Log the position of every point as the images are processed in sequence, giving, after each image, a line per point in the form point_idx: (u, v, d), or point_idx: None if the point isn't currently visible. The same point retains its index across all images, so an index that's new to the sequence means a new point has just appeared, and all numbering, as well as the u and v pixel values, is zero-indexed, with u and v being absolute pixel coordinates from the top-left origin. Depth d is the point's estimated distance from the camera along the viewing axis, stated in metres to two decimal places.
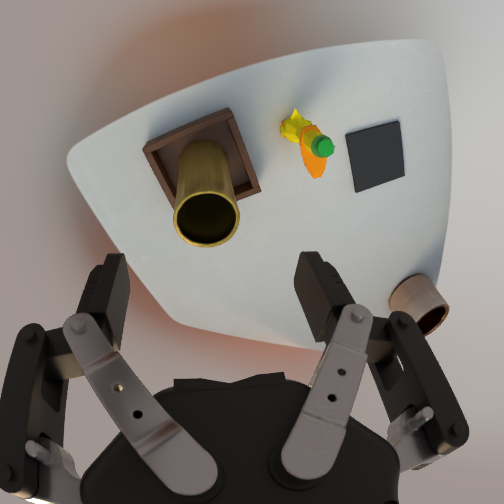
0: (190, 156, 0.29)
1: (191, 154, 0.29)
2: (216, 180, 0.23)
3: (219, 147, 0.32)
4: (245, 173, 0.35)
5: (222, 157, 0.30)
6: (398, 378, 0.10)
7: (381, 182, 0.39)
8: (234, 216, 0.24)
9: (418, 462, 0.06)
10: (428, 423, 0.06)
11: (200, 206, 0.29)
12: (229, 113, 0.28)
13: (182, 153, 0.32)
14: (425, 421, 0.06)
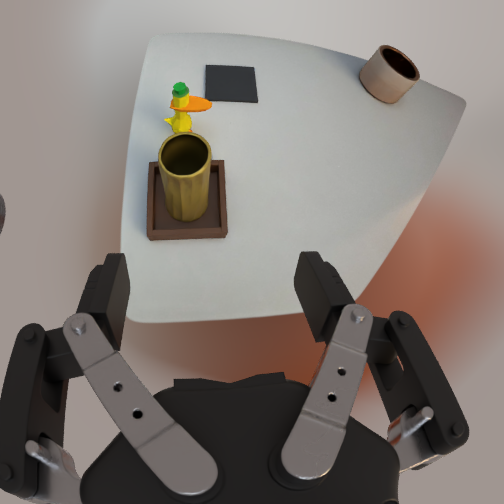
0: None
1: None
2: None
3: None
4: None
5: None
6: (398, 378, 0.10)
7: (254, 83, 0.46)
8: (196, 141, 0.28)
9: (418, 462, 0.06)
10: (428, 423, 0.06)
11: None
12: (150, 163, 0.37)
13: (169, 211, 0.38)
14: (425, 421, 0.06)
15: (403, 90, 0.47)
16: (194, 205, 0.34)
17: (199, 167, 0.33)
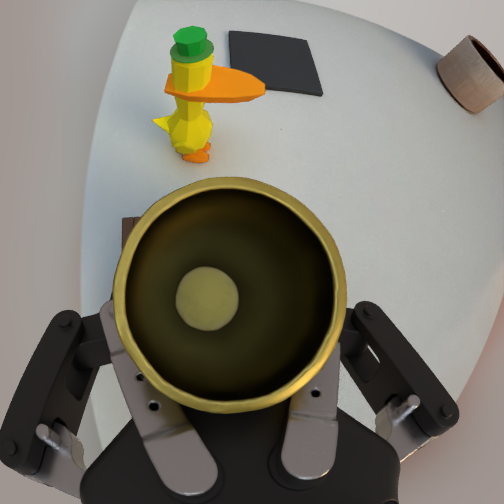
0: None
1: None
2: None
3: None
4: None
5: None
6: (373, 367, 0.10)
7: (312, 63, 0.26)
8: (269, 213, 0.07)
9: (415, 449, 0.06)
10: (416, 410, 0.07)
11: (257, 322, 0.13)
12: (124, 222, 0.17)
13: None
14: (413, 409, 0.07)
15: (495, 99, 0.27)
16: None
17: (250, 260, 0.13)
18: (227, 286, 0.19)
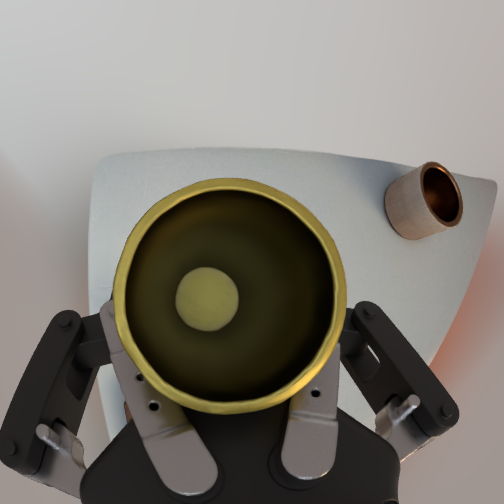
0: None
1: None
2: None
3: None
4: None
5: None
6: (373, 367, 0.10)
7: None
8: (269, 214, 0.07)
9: (414, 449, 0.06)
10: (416, 410, 0.07)
11: (257, 323, 0.13)
12: (125, 406, 0.29)
13: None
14: (413, 409, 0.07)
15: (438, 232, 0.39)
16: None
17: (250, 261, 0.13)
18: (227, 286, 0.19)
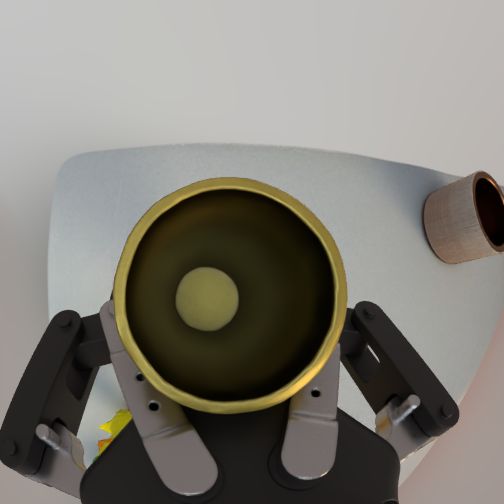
0: None
1: None
2: None
3: None
4: None
5: None
6: (373, 367, 0.10)
7: None
8: (269, 213, 0.07)
9: (414, 449, 0.06)
10: (416, 410, 0.07)
11: (257, 322, 0.13)
12: None
13: None
14: (413, 409, 0.07)
15: None
16: None
17: (250, 260, 0.13)
18: (227, 286, 0.19)
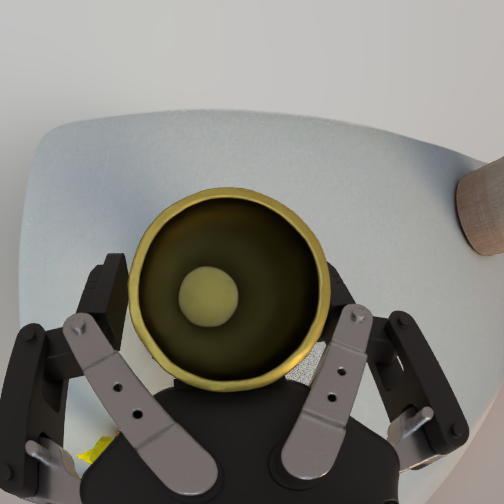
0: None
1: None
2: None
3: None
4: None
5: None
6: (398, 378, 0.10)
7: None
8: (263, 218, 0.08)
9: (418, 462, 0.06)
10: (428, 423, 0.06)
11: (254, 317, 0.14)
12: None
13: None
14: (425, 421, 0.06)
15: None
16: None
17: (248, 260, 0.14)
18: (227, 285, 0.20)
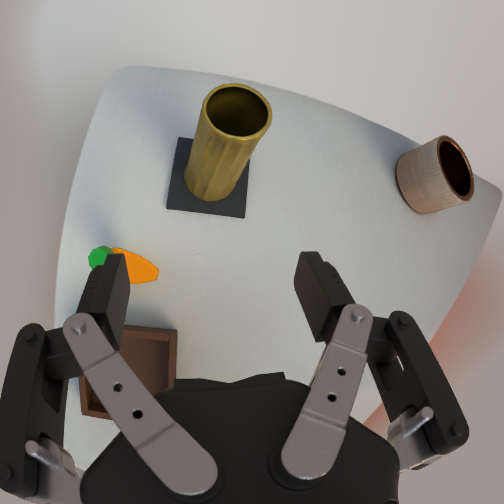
0: (190, 162, 0.28)
1: (189, 163, 0.28)
2: None
3: None
4: None
5: None
6: (398, 378, 0.10)
7: (245, 181, 0.34)
8: (251, 99, 0.21)
9: (418, 462, 0.06)
10: (428, 423, 0.06)
11: None
12: None
13: (188, 184, 0.31)
14: (425, 421, 0.06)
15: (448, 207, 0.37)
16: (225, 181, 0.27)
17: (241, 135, 0.26)
18: None
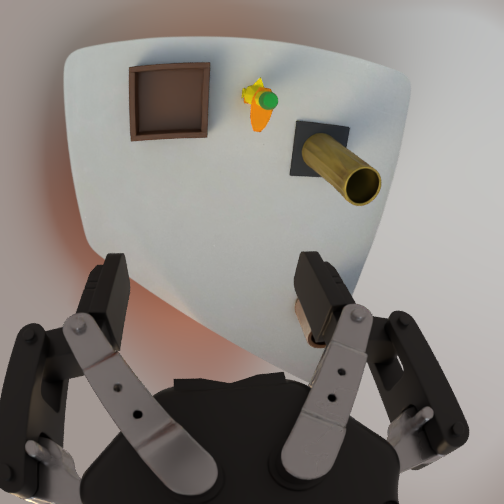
0: (330, 142, 0.38)
1: (329, 141, 0.39)
2: None
3: None
4: (200, 120, 0.38)
5: None
6: (398, 378, 0.10)
7: (316, 175, 0.46)
8: (370, 192, 0.34)
9: (418, 462, 0.06)
10: (428, 423, 0.06)
11: None
12: (207, 63, 0.31)
13: (314, 137, 0.41)
14: (425, 421, 0.06)
15: (301, 326, 0.59)
16: (317, 167, 0.39)
17: (348, 179, 0.38)
18: None
